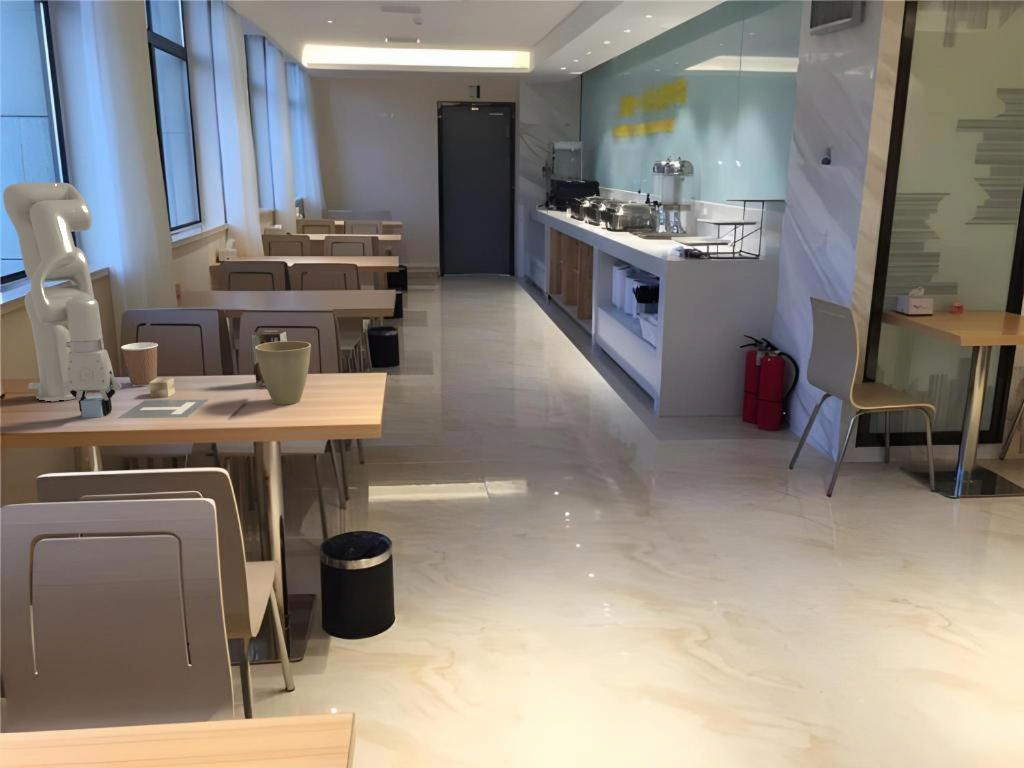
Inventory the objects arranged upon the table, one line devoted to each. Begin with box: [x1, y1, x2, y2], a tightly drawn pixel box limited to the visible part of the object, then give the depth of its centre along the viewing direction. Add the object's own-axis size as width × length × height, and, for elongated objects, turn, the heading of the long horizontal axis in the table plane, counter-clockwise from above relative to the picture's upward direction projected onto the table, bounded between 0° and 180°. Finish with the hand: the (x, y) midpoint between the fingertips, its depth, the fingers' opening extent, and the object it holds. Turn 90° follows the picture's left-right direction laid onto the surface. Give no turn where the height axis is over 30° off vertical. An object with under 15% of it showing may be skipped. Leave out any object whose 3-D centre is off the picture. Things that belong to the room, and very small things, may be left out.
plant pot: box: [255, 340, 312, 406], centre depth 232 cm, size 15×15×16 cm
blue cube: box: [80, 395, 105, 418], centre depth 219 cm, size 5×5×5 cm
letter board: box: [117, 399, 210, 419], centre depth 225 cm, size 18×18×1 cm
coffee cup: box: [120, 341, 159, 387], centre depth 253 cm, size 10×10×12 cm
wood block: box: [148, 377, 176, 398], centre depth 239 cm, size 5×5×5 cm
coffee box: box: [251, 329, 289, 387], centre depth 252 cm, size 9×6×16 cm
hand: (96, 413), depth 220 cm, fingers closed on blue cube, 5 cm apart
